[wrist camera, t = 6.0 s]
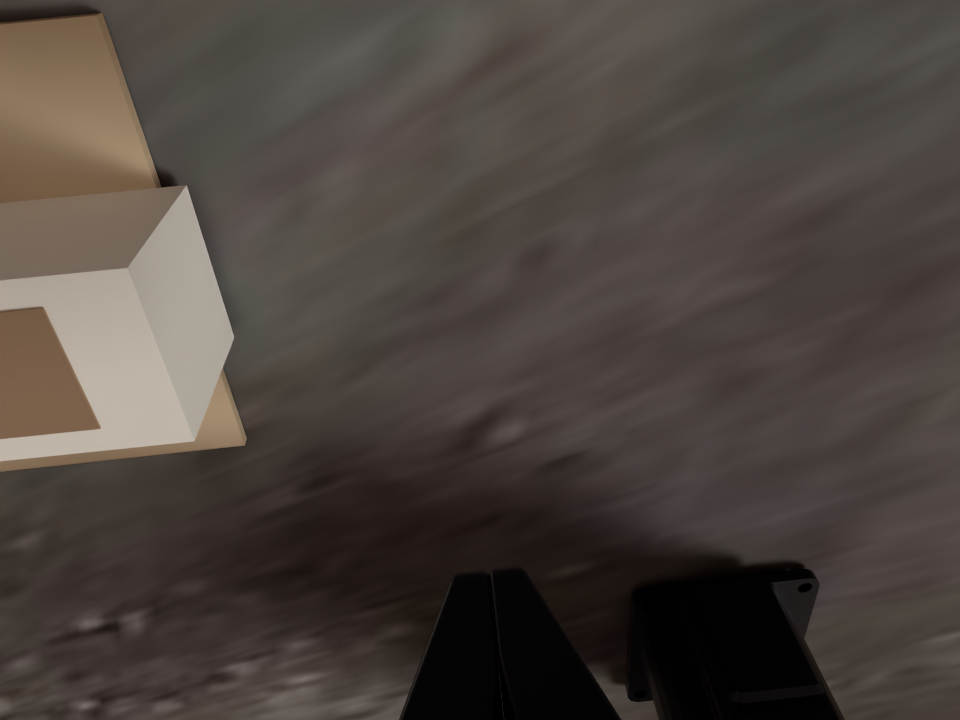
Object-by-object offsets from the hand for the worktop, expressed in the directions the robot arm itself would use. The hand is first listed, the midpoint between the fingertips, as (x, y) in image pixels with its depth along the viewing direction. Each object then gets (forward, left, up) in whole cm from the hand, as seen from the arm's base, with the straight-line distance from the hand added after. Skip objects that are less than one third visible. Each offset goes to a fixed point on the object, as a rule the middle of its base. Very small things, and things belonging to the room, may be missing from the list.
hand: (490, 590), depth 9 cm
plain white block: (0, +6, -8) cm, 10 cm away
